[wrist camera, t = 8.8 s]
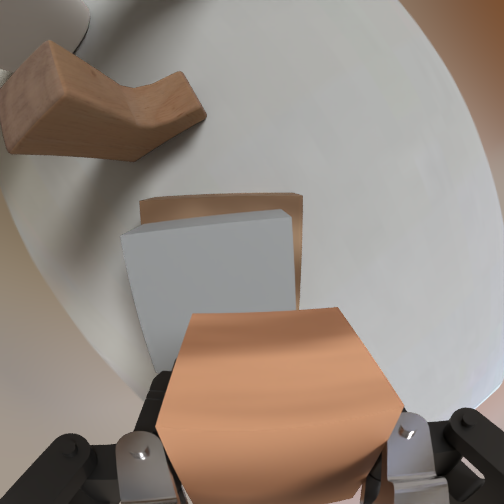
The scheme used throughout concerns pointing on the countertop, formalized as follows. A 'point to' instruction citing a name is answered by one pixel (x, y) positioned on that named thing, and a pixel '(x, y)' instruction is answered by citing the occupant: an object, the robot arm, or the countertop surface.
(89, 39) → the countertop surface
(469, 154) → the countertop surface
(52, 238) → the countertop surface
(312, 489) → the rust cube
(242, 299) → the tower top block
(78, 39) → the cylinder vase
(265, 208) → the tower base block
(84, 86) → the wooden block
